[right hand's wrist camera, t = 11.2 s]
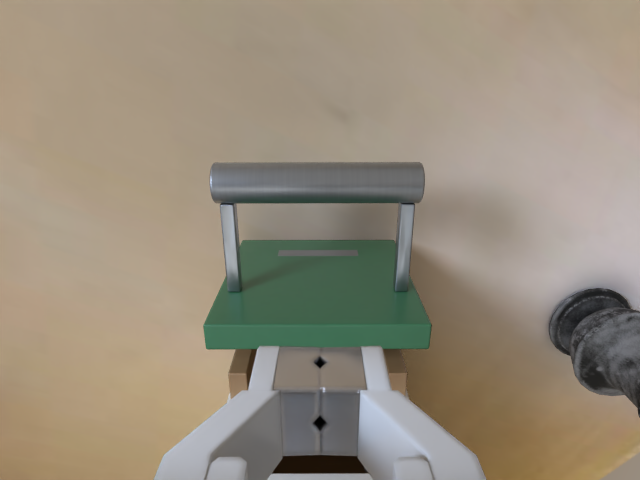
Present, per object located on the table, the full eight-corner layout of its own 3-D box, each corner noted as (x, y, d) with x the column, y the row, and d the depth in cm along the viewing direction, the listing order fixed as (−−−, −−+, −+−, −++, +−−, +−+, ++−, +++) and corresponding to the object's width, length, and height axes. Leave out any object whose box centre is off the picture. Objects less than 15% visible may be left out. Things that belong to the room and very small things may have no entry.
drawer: (235, 140, 23) (185, 179, 15) (400, 140, 23) (448, 179, 15) (257, 442, 31) (233, 583, 23) (380, 442, 31) (404, 582, 23)
